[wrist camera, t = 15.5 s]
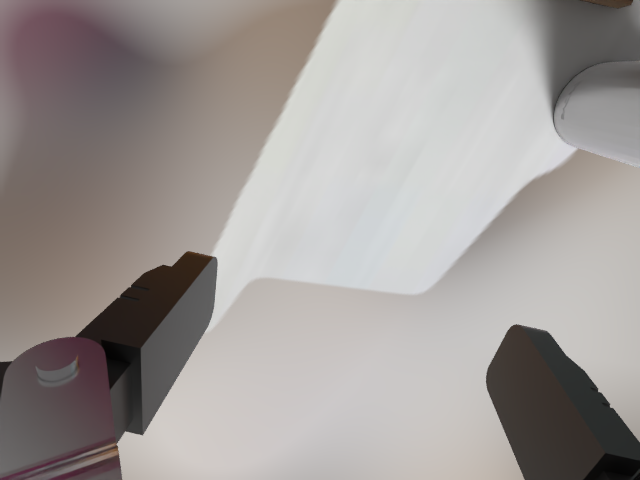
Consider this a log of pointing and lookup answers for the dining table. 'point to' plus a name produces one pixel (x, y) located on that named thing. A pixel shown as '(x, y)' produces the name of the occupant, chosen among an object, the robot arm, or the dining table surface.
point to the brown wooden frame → (611, 2)
